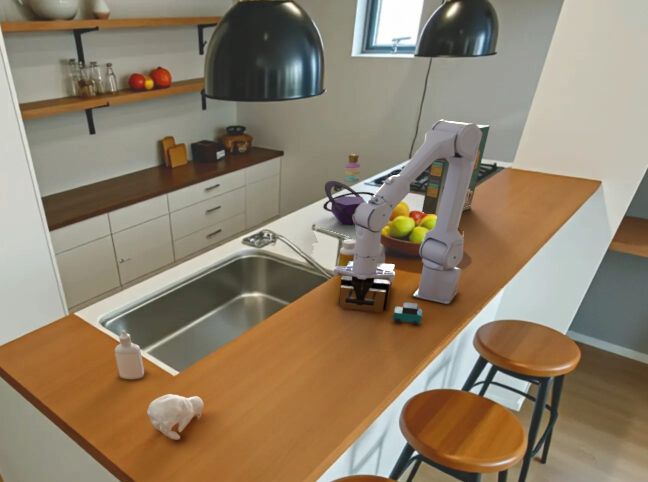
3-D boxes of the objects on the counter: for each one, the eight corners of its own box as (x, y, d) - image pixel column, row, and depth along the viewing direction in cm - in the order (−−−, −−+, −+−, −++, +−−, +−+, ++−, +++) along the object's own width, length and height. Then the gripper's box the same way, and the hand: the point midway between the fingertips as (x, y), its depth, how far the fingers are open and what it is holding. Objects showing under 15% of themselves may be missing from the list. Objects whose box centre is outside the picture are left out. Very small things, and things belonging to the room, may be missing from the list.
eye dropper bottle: (134, 384, 108) (125, 338, 101) (117, 376, 110) (107, 331, 104) (147, 374, 110) (139, 329, 104) (130, 367, 113) (121, 323, 107)
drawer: (380, 321, 121) (383, 300, 118) (335, 315, 125) (337, 295, 122) (387, 292, 134) (390, 272, 131) (346, 288, 138) (348, 269, 135)
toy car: (420, 319, 122) (423, 303, 120) (419, 326, 119) (423, 310, 117) (393, 316, 125) (396, 300, 122) (392, 323, 122) (395, 306, 119)
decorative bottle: (366, 234, 176) (375, 162, 162) (312, 228, 185) (315, 160, 171) (381, 216, 192) (390, 149, 178) (330, 212, 201) (334, 148, 187)
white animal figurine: (142, 397, 89) (189, 374, 96) (145, 433, 93) (190, 408, 100) (164, 411, 85) (212, 386, 92) (166, 448, 89) (212, 421, 96)
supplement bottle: (356, 274, 147) (359, 244, 142) (338, 274, 148) (340, 244, 143) (355, 268, 152) (358, 238, 146) (337, 267, 153) (340, 238, 147)
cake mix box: (456, 205, 197) (474, 124, 180) (470, 208, 192) (489, 125, 175) (421, 216, 188) (436, 132, 171) (434, 219, 184) (451, 134, 167)
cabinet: (385, 310, 128) (389, 284, 123) (338, 304, 132) (341, 279, 128) (390, 289, 138) (394, 264, 133) (347, 284, 142) (349, 260, 138)
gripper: (333, 256, 116) (328, 306, 124) (396, 262, 111) (387, 314, 118) (338, 246, 121) (334, 295, 129) (399, 251, 116) (390, 301, 124)
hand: (360, 303), depth 124 cm, fingers closed, pressing on drawer
